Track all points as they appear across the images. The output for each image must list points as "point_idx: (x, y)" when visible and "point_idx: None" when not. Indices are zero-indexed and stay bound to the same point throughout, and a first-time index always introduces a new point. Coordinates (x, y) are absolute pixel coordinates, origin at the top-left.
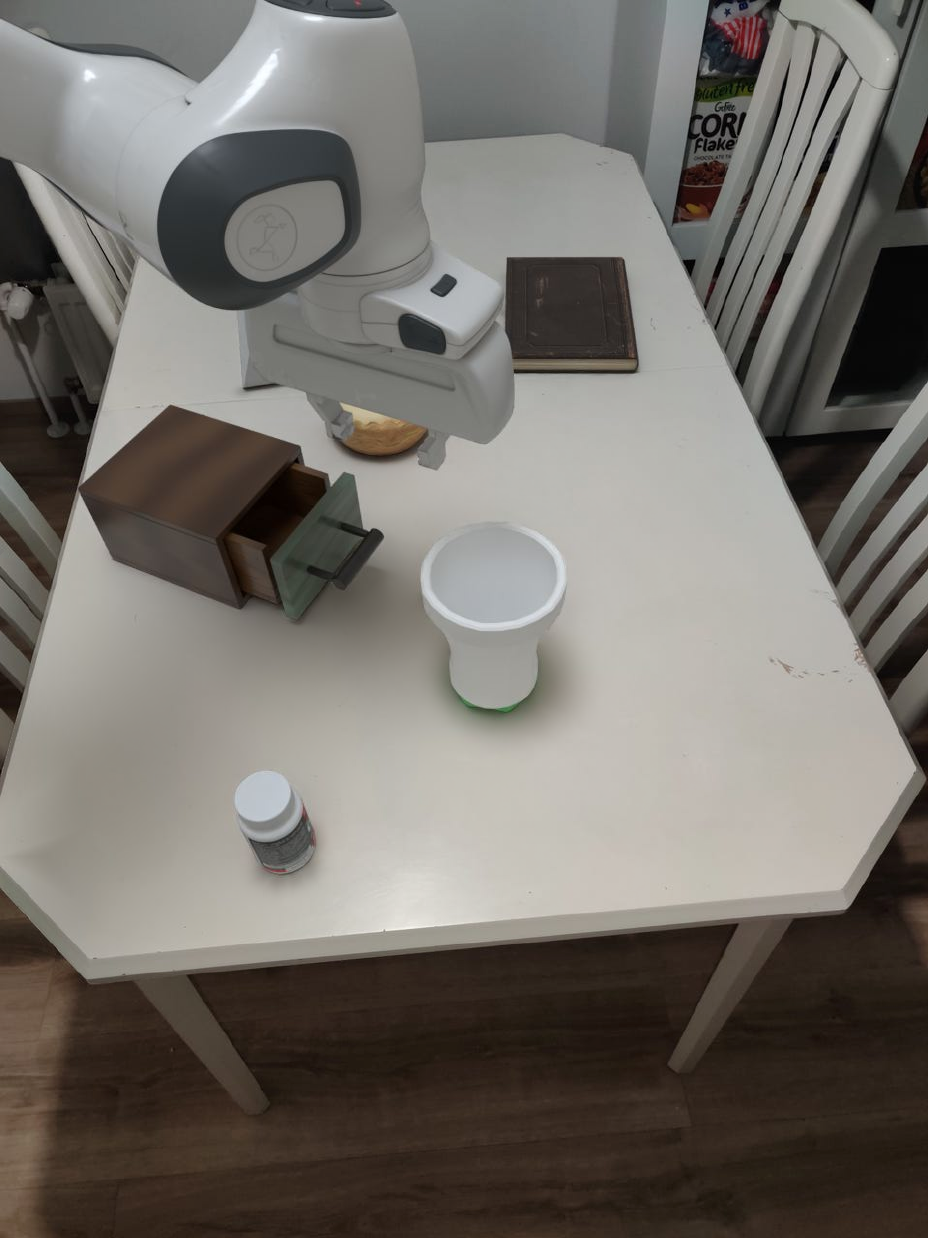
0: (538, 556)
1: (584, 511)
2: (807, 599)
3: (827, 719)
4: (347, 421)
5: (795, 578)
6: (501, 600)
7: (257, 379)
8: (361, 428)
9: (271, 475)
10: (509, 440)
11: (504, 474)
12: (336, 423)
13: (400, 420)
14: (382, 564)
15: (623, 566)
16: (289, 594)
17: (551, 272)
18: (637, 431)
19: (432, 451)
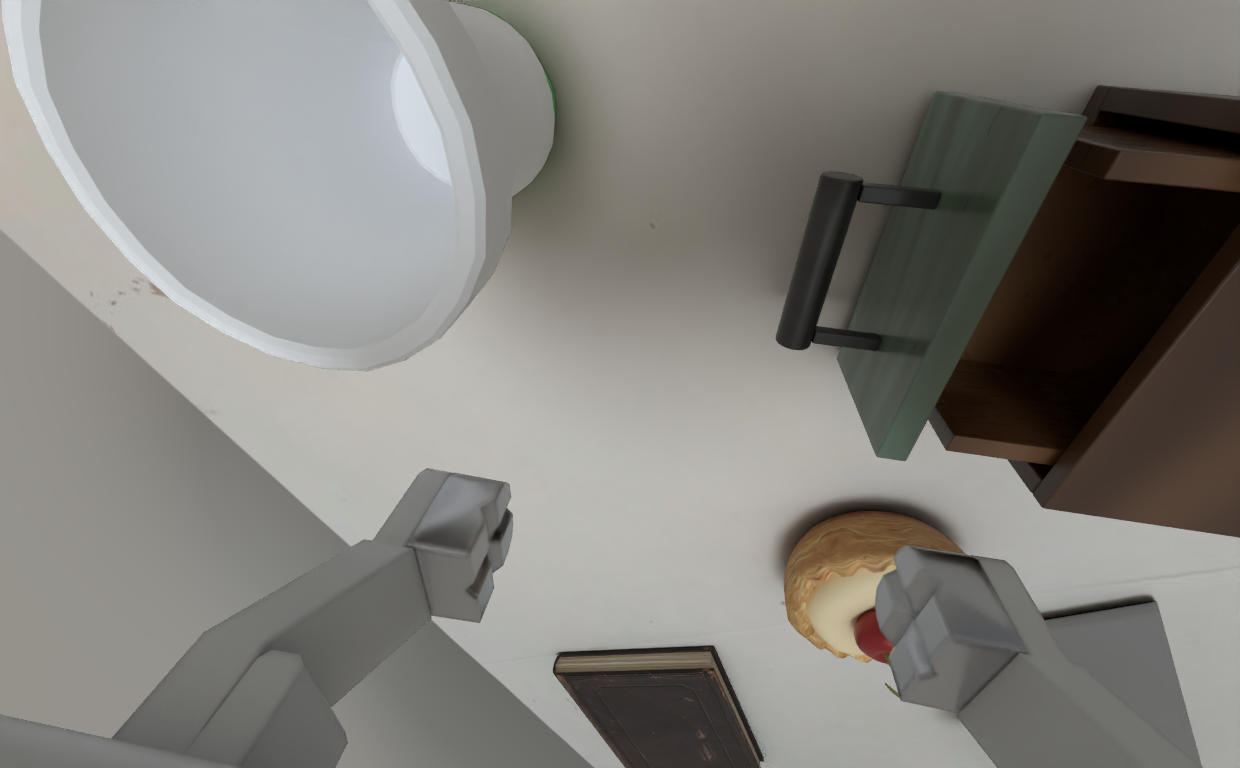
0: (285, 302)
1: (516, 470)
2: (211, 399)
3: (62, 222)
4: (915, 655)
5: (242, 424)
6: (448, 228)
7: (1132, 619)
8: None
9: (1123, 413)
10: (665, 557)
11: (648, 507)
12: (982, 651)
13: (827, 577)
14: (783, 306)
15: (423, 396)
16: (975, 99)
17: (702, 764)
18: (517, 585)
19: (367, 555)
